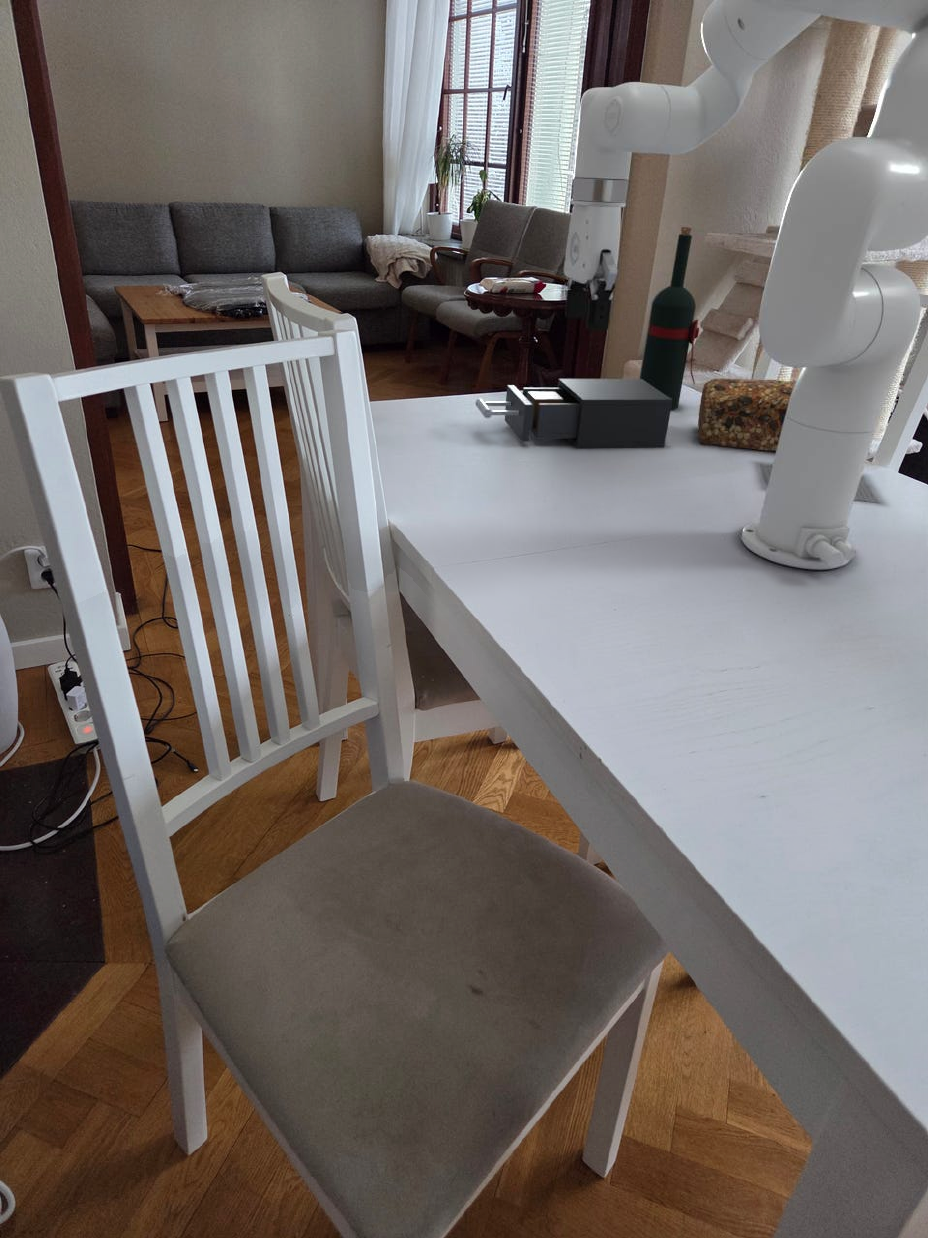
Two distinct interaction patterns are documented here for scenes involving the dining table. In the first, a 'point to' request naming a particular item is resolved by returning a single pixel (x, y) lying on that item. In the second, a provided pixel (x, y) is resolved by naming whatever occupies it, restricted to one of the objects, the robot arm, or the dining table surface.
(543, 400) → the block
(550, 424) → the drawer
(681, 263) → the wine bottle
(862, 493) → the architectural model
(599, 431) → the cabinet
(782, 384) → the bread
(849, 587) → the dining table surface
